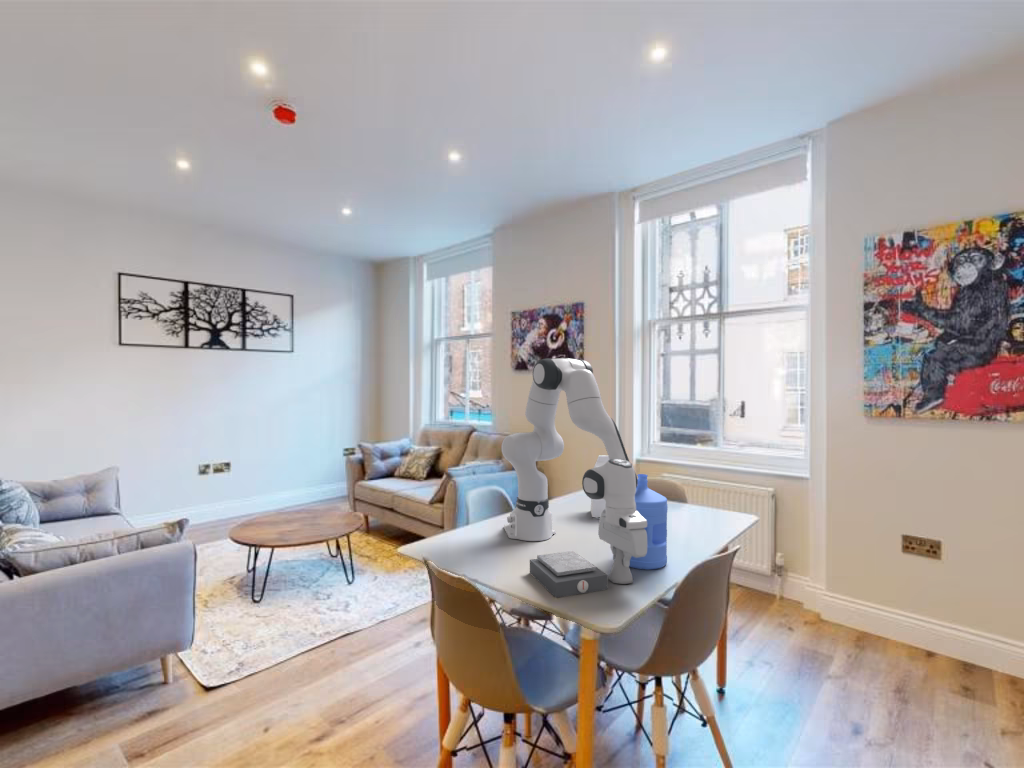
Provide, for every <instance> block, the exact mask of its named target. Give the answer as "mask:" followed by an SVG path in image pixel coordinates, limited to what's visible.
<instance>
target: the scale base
mask: <svg viewBox="0 0 1024 768" xmlns="http://www.w3.org/2000/svg"><path fill="white" fill-rule="evenodd" d="M578 555H579V554H578ZM579 556H581V555H579ZM581 557H582V556H581ZM582 558H584V557H582ZM591 564H592V565H594V564H593V563H591ZM594 566H595V567H596V571H589V572H582V573H575V574H569V575H562V576H557V575H556V574H555V573H553V572H552V571H551V570H550V569H549V568H548V567H546V566H545V565H544V564H543V563H542V562H540V561H539V560H538V559H537V558H532V559H529V574H530V575H531V574H532V575H533V576H534V577H535V580H537V581H538V583H540V585H541V586H543V587H544V588H545V589H546V590H547V591H548V592H549V593H550V594H551V595H552V596H553V597H554V598H562V597H568V596H573V595H580V594H587V593H592V592H598V591H605V590H609V589H608V588H609V587H608V585H609V583H608V582H609V575H608V574H607V573H606V572H604V571H603V570H601V569H600V568H599V567H597V566H596V565H594ZM532 575H531V576H532ZM533 576H532V577H533ZM534 577H533V578H534Z"/></svg>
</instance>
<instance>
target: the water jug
mask: <svg viewBox="0 0 1024 768" xmlns="http://www.w3.org/2000/svg"><path fill="white" fill-rule="evenodd" d="M636 475H637V480H638V484H637V488H636V494H635V502H636V510H637V511H638V512H639V513H640V515H641V516H642V517H643V518H645V519H646V520H647V527H646V528H644V529H645V530H646V533H647V554H646V555H645V556H644V557H637V558H636V557H633V556H632V557H631V559H630V566H629V568H633V569H638V570H644V569H645V570H647V571H649V570H658V569H661V568H664V567H665V566H666V565H667V562H668V556H667V555H668V554H667V551H668V550H667V547H668V546H667V543H668V542H667V541H668V539H667V537H668V527H667V526H668V525H667V524H668V523H667V522H668V508H669V507H668V498H667V497H666V496H664V495H662V494H661V493H658V492H657V491H655V490H652V489H651V488H649V487H648V481H649V480H648V477H649V476H648V474H646V473H645V474H644V473H638V474H636Z"/></svg>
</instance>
